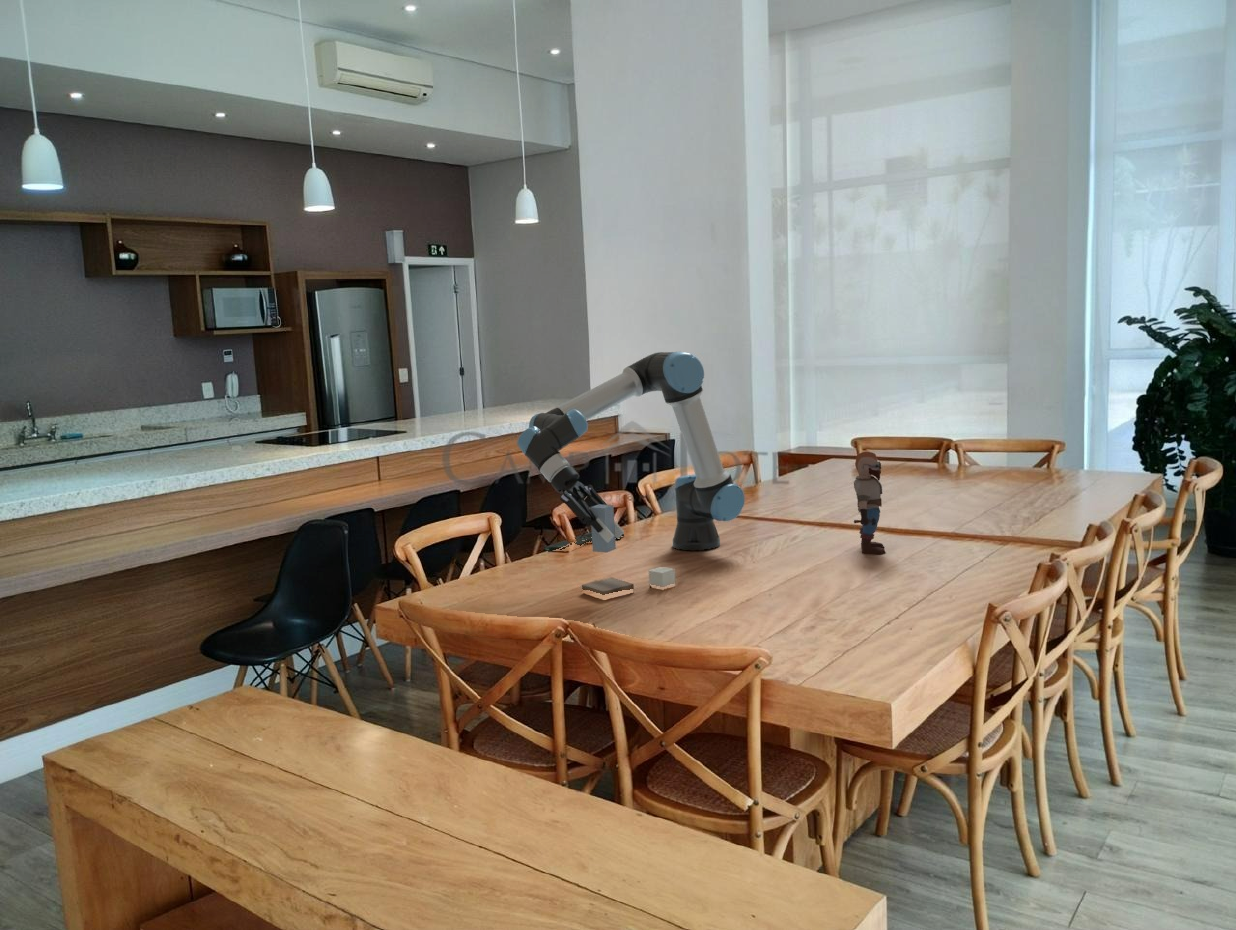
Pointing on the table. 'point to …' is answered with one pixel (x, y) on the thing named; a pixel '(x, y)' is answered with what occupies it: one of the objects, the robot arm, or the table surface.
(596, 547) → the pillar
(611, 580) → the slab
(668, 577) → the grey-green cube
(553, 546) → the firearm
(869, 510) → the toy
